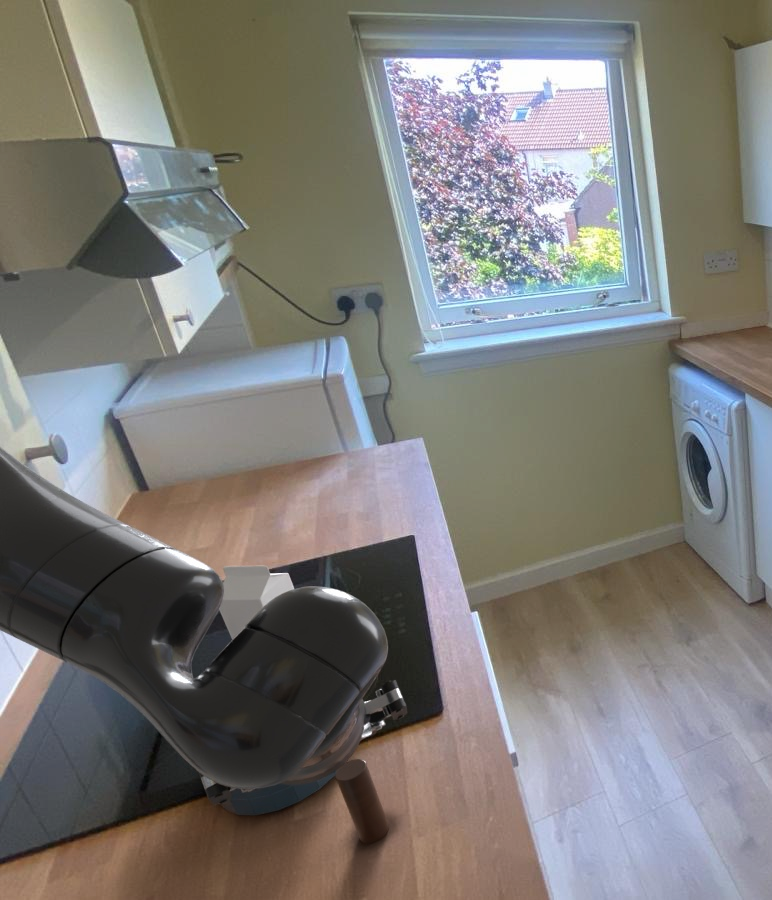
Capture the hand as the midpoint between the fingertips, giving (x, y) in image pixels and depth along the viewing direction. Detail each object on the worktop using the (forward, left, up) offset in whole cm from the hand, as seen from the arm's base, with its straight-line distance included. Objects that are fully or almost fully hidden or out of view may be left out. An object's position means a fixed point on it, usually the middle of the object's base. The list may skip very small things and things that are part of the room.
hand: (315, 749), depth 66 cm
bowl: (+10, +27, -24) cm, 38 cm away
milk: (+20, +39, -24) cm, 50 cm away
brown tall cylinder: (+7, +9, -24) cm, 26 cm away
